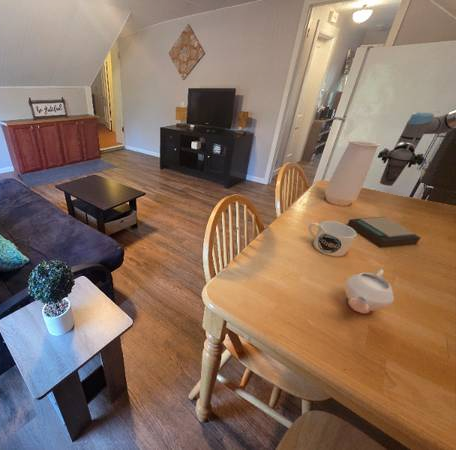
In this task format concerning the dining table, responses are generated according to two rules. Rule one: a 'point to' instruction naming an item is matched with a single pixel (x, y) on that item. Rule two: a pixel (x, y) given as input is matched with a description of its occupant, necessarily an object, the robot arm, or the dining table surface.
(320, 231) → the mug
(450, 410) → the dining table surface
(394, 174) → the beverage cup
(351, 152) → the vase
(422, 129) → the robot arm
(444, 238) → the dining table surface
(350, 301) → the teapot
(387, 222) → the scale
